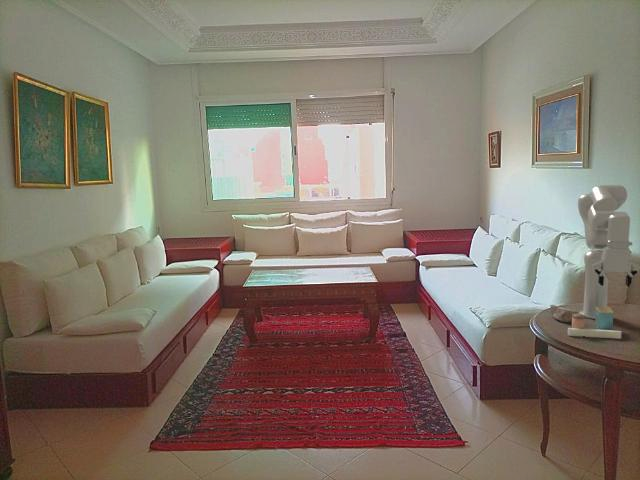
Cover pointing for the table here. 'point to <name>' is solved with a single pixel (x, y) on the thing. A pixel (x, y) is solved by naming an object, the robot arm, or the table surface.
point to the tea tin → (604, 318)
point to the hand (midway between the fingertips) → (614, 285)
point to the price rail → (594, 333)
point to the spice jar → (578, 321)
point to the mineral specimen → (562, 313)
